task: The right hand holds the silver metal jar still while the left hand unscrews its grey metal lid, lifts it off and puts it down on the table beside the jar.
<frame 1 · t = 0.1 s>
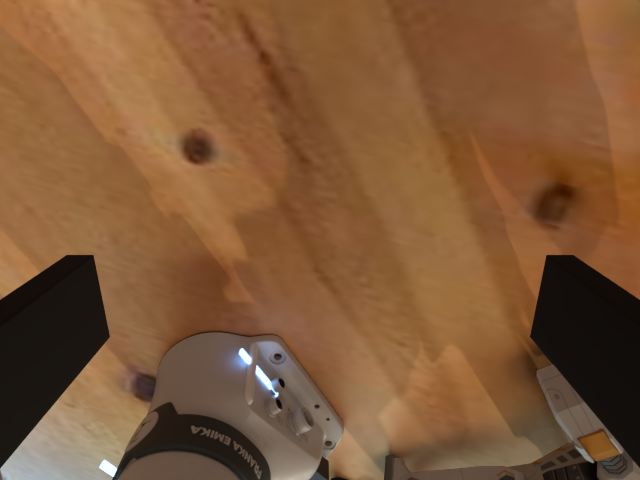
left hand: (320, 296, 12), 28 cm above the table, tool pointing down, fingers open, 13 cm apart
robot: (541, 438, 50), on the table
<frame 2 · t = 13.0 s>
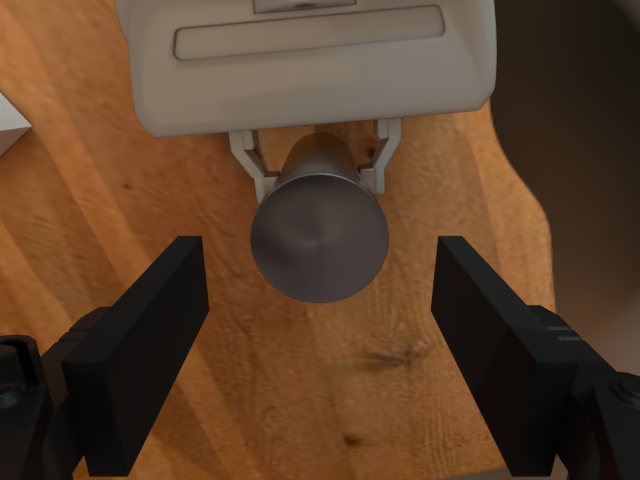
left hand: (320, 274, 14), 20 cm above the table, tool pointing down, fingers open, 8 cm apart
right hand: (321, 197, 27), fingers closed on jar, 5 cm apart
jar: (319, 166, 32), on the table, touching right hand
lid: (319, 239, 17), point 16 cm above the table, screwed on, not yet turned
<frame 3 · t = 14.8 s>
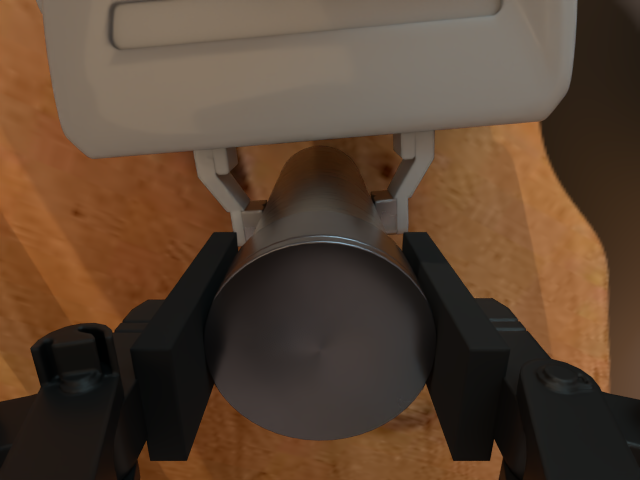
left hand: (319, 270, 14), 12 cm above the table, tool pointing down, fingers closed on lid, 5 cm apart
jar: (320, 188, 25), on the table, touching right hand
lid: (320, 342, 10), point 16 cm above the table, screwed on, not yet turned, touching left hand
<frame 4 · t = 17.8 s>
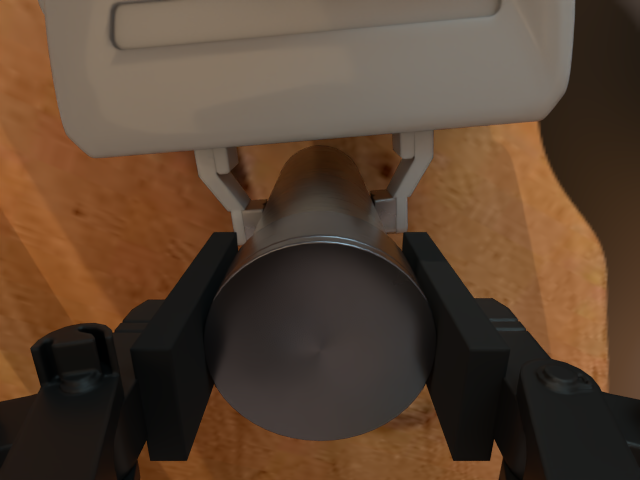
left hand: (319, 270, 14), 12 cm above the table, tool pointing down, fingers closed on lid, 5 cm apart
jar: (320, 187, 26), on the table, touching right hand
lid: (320, 342, 10), point 16 cm above the table, turned 83° so far, risen 0.1 cm, still on its thread, touching left hand
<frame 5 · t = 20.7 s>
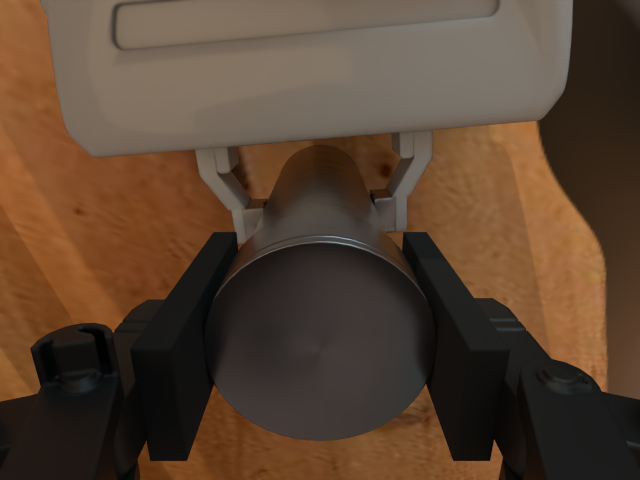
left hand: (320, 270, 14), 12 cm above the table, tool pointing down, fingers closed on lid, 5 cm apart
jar: (320, 187, 26), on the table, touching right hand
lid: (320, 342, 10), point 17 cm above the table, turned 167° so far, risen 0.3 cm, still on its thread, touching left hand
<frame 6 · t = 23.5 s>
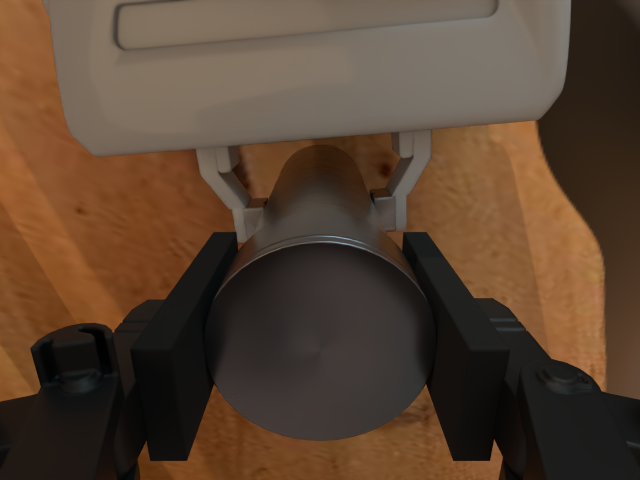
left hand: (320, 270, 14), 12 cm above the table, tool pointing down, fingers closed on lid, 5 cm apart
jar: (320, 186, 26), on the table, touching right hand
lid: (320, 342, 10), point 17 cm above the table, turned 250° so far, risen 0.4 cm, still on its thread, touching left hand
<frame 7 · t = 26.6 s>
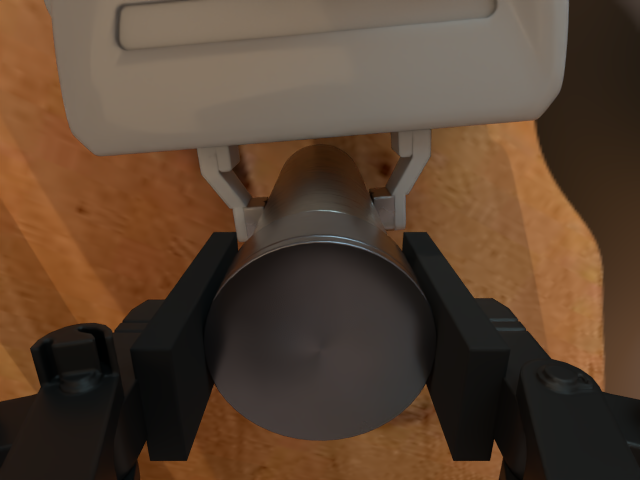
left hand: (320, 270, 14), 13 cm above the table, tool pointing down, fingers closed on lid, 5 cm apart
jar: (319, 186, 26), on the table, touching right hand
lid: (320, 342, 10), point 17 cm above the table, turned 334° so far, risen 0.6 cm, still on its thread, touching left hand
when the left hand's fingers open (0 cm above the table, at t = 33.8 s): lid drops 2 cm, point 2 cm above the table.
when the right hand's fingers open (6 cm above the table, at t = 34.5 s): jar stays where it is, on the table.
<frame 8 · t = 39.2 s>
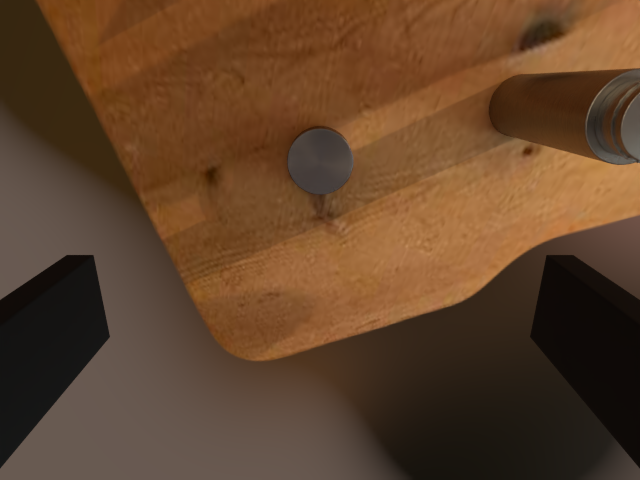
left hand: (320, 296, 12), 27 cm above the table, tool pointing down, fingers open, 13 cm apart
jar: (518, 106, 36), on the table
lid: (320, 161, 36), point 2 cm above the table, off its thread
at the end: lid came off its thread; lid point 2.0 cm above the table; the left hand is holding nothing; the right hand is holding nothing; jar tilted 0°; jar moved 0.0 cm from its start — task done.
